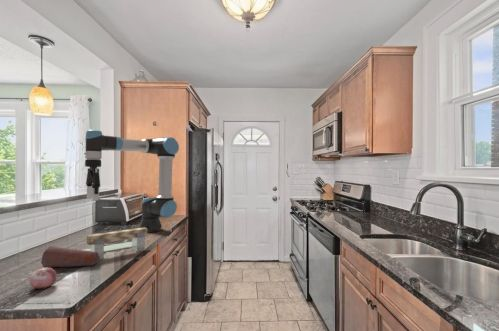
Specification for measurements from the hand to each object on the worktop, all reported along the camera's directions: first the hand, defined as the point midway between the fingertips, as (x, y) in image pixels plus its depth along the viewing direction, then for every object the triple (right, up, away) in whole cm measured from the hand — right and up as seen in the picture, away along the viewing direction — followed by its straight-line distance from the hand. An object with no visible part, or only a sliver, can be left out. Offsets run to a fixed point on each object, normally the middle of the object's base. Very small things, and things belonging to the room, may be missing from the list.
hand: (92, 199), depth 148 cm
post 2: (+24, -27, +1) cm, 36 cm away
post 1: (+9, -27, -13) cm, 31 cm away
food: (+5, -27, -26) cm, 37 cm away
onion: (+9, -26, -47) cm, 55 cm away
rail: (+17, -20, -6) cm, 27 cm away
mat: (+9, -27, +2) cm, 28 cm away
